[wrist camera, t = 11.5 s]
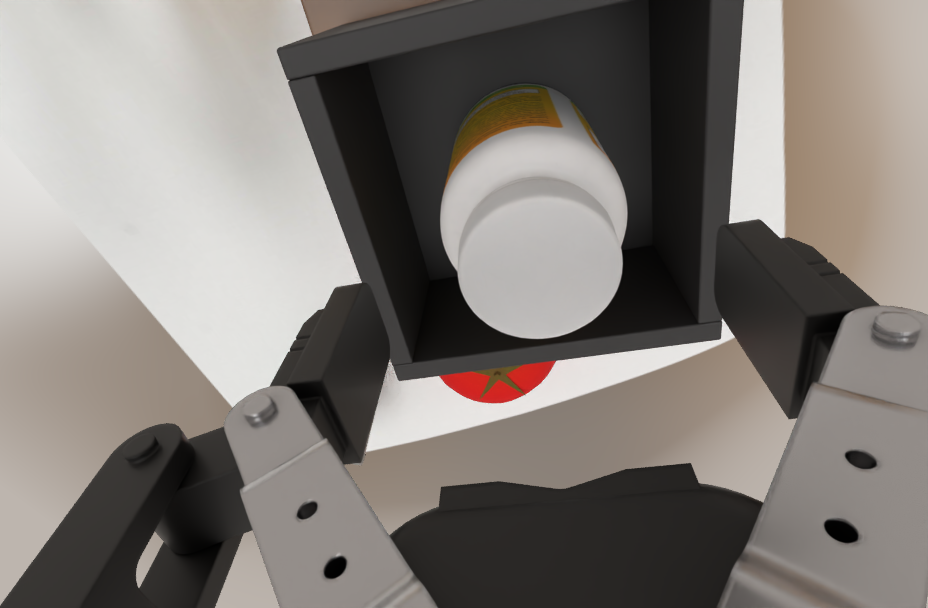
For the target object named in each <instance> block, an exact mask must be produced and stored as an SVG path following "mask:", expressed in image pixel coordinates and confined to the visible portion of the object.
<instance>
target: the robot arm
mask: <svg viewBox="0 0 928 608" xmlns="http://www.w3.org/2000/svg"><path fill="white" fill-rule="evenodd" d="M714 295H715V301H716V305H717V308H718V311H719V313H720V315H721V316H722V318H723V319H724V321H725V322H726V324H727V325H728V327H729V329H730V330H731V332H732V333H733V335H734V336H735V338H736V339H737V341H738V342H739V344H740V345H741V347H742V348H743V350H744V351H745V353H746V355H747V356H748V357H749V359H750V361H751V362H752V364H753V365H754V367H755V368H756V370H757V371H758V373H759V374H760V376H761V377H762V379H763V381H764V382H765V383H766V385H767V387H768V388H769V390H770V391H771V393H772V394H773V396H774V397H775V399H776V400H777V402H778V403H779V405H780V406H781V408H782V410H783V411H784V413H785V414H786V416H787V417H788V419H795V418H797V421H796V423H795V426H794V428H793V431H792V433H791V436H790V438H789V441H788V443H787V446H786V448H785V450H784V453H783V455H782V458H781V460H780V463H779V466H778V468H777V470H776V473H775V476H774V478H773V481H772V483H771V485H770V488H769V491H768V493H767V495H766V498H765V501H764V503H763V502H761V501H759V500H756V499H754V498H751V497H749V496H746V495H744V494H742V493H738V492H735V491H732V490H729V489H726V488H721V487H717V486H713V485H708V484H700V483H698V480H697V478H696V475H695V473H694V470H693V468H692V465H691V463H688V464H676V465H666V466H655V467H645V468H635V469H625V470H622V471H619V472H616V473H613V474H610V475H607V476H604V477H601V478H598V479H595V480H592V481H588V482H585V483H583V484H579V485H576V486H573V487H570V488H566V489H553V488H545V487H538V486H530V485H523V484H515V483H507V482H488V483H477V484H467V485H456V486H446V487H441V493H440V501H439V507H436V508H434V509H431V510H429V511H427V512H425V513H422V514H420V515H418V516H416V517H415V518H413V519H411V520H410V521H408V522H406V523H405V524H403V525H402V526H401V527H399V528H398V529H397V530H395V531H394V532H393V533H392V534H391V535H388V533H387V532H386V530H385V529H384V527H383V525H382V524H381V522H380V521H379V519H378V517H377V516H376V514H375V513H374V511H373V510H372V508H371V506H370V505H369V503H368V502H367V500H366V499H365V497H364V496H363V494H362V492H361V491H360V489H359V488H358V487H357V485H356V483H355V482H354V480H353V478H352V477H351V475H350V474H349V472H348V471H347V469H346V468H345V466H344V464H354V463H361V462H362V458H363V454H364V451H365V447H366V443H367V440H368V436H369V432H370V429H371V425H372V421H373V418H374V414H375V410H376V407H377V403H378V399H379V396H380V392H381V388H382V385H383V381H384V377H385V374H386V370H387V366H388V363H389V359H390V342H389V337H388V334H387V331H386V328H385V325H384V322H383V320H382V317H381V314H380V311H379V309H378V306H377V303H376V300H375V297H374V295H373V292H372V289H371V287H370V286H369V285H368V284H367V283H359V284H353V285H347V286H341V287H336V288H335V289H334V291H333V293H332V295H331V297H330V298H329V300H328V302H327V304H326V306H325V308H324V309H322V310H318V311H317V312H316V313H315V314H314V315H312V316H311V317H310V318H309V319H308V320H307V321H306V322H305V323H304V324H303V326H302V328H301V330H300V331H299V333H298V335H297V337H296V340H295V341H294V342H293V344H292V346H291V348H290V352H288V353H287V355H286V357H285V359H284V361H283V363H282V364H281V366H280V368H279V370H278V372H277V374H276V376H275V377H274V379H273V381H272V383H271V385H270V387H267V388H263V389H261V390H258V391H256V392H254V393H252V394H250V395H248V396H246V397H245V398H244V399H242V400H241V401H240V402H238V403H237V404H236V405H235V406H234V407H233V408H232V409H231V411H230V412H229V413H228V415H227V417H226V419H225V422H224V427H222V428H219V429H216V430H213V431H210V432H208V433H205V434H202V435H199V436H196V437H194V438H191V439H187V437H186V436H185V435H184V433H183V432H182V431H181V429H180V428H179V426H177V425H175V424H169V423H166V424H159V425H155V426H152V427H149V428H147V429H145V430H143V431H140V432H139V433H137V434H135V435H134V436H132V437H130V438H129V439H127V440H126V441H125V442H124V443H122V444H121V445H120V446H119V447H118V448H117V449H116V450H115V451H114V452H113V453H112V454H111V456H110V457H109V458H108V459H107V461H106V462H105V463H104V465H103V466H102V468H101V469H100V470H99V472H98V473H97V475H96V476H95V477H94V478H93V480H92V481H91V483H90V484H89V485H88V487H87V488H86V489H85V491H84V492H83V493H82V495H81V496H80V498H79V499H78V500H77V502H76V503H75V504H74V506H73V507H72V509H71V510H70V511H69V513H68V514H67V515H66V517H65V518H64V520H63V521H62V522H61V523H60V525H59V526H58V528H57V529H56V530H55V532H54V533H53V535H52V536H51V537H50V539H49V540H48V541H47V543H46V544H45V545H44V547H43V548H42V549H41V551H40V552H39V554H38V555H37V556H36V558H35V559H34V560H33V562H32V563H31V564H30V566H29V567H28V569H27V570H26V571H25V573H24V574H23V575H22V577H21V578H20V579H19V581H18V582H17V584H16V585H15V586H14V588H13V589H12V591H11V592H10V593H9V594H8V596H7V597H6V599H5V600H4V601H3V603H2V604H1V606H0V608H215V606H216V603H217V601H218V598H219V595H220V593H221V590H222V588H223V585H224V582H225V580H226V577H227V575H228V572H229V570H230V567H231V565H232V562H233V559H234V557H235V554H236V552H237V549H238V547H239V544H240V541H241V539H242V536H243V533H246V532H249V531H251V530H253V532H254V535H255V538H256V541H257V544H258V547H259V549H260V552H261V555H262V558H263V561H264V564H265V566H266V569H267V572H268V575H269V578H270V580H271V584H272V586H273V589H274V592H275V595H276V598H277V601H278V604H279V606H280V608H926V603H927V596H928V315H927V314H924V313H922V312H918V311H915V310H911V309H907V308H902V307H895V306H880V305H879V304H878V303H877V302H875V301H874V300H873V299H872V298H871V297H870V296H868V295H867V294H866V293H865V292H864V291H863V290H862V289H860V288H859V287H858V286H857V285H856V284H855V283H854V282H852V281H851V280H850V279H849V278H848V277H847V276H846V275H844V274H843V273H841V274H840V271H839V270H838V269H837V268H836V267H835V266H834V265H833V264H832V263H828V262H827V259H826V258H825V257H824V256H823V255H821V254H820V253H819V252H818V251H817V250H816V249H815V248H813V247H812V246H809V245H807V244H805V243H802V242H800V241H797V240H795V239H792V238H789V237H788V238H781V239H780V238H779V237H778V236H777V235H776V234H775V233H774V232H773V231H772V230H771V229H770V228H769V227H768V226H767V225H766V224H765V223H763V222H762V221H761V220H759V219H757V220H751V221H744V222H738V223H732V224H726V225H721V226H720V227H719V229H718V232H717V241H716V259H715V277H714ZM154 531H155V532H156V533H157V534H158V535H159V537H160V538H161V539H162V540H163V541H164V542H163V544H162V546H161V548H160V550H159V552H158V554H157V556H156V558H155V560H154V562H153V563H152V565H151V567H150V569H149V571H148V573H147V575H146V577H145V579H144V581H143V582H142V584H141V586H140V588H138V586H137V582H136V568H137V564H138V561H139V559H140V556H141V555H142V553H143V551H144V549H145V548H146V545H147V544H148V542H149V540H150V539H151V537H152V535H153V533H154Z"/></svg>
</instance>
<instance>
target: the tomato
mask: <svg viewBox="0 0 928 608" xmlns="http://www.w3.org/2000/svg"><path fill="white" fill-rule="evenodd" d="M555 362H556V361H550V362H542V363H534V364H527V365H519V366H511V367H503V368H496V369H488V370H480V371H473V372H465V373H457V374H449V375H442V376H440V378H441V379H442V380H443V381H444V383H445V384H446V385H447V386H449V387H450V388H452V389H453V390H454V391H456V392H457V393H459V394H461V395H462V396H464V397H466V398H469V399H471V400H474V401H478V402H483V403H504V402H508V401H512V400H514V399H517V398H519V397H521V396H523V395H525V394H527V393H528V392H530V391H531V390H532V389H534V388H535V387H536V386H538V385H539V384H540V383H541V382H542V381H543V380H544V379H545V378H546V376H547V375H548V374H549V372H550V370H551V369H552V367H553V365H554V363H555Z"/></svg>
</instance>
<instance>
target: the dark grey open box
mask: <svg viewBox="0 0 928 608" xmlns="http://www.w3.org/2000/svg"><path fill="white" fill-rule="evenodd" d="M743 6H744V0H440V1H436V2H432V3H428V4H424V5H420V6H416V7H412V8H408V9H404V10H400V11H396V12H392V13H388V14H383V15H379V16H375V17H371V18H367V19H363V20H359V21H355V22H351V23H347V24H343V25H340V26H338V27H335V28H332V29H329V30H326V31H324V32H321V33H318V34H316V35H313V36H310V37H307V38H305V39H302V40H299V41H296V42H294V43H291V44H288V45H286V46H283V47H280V48H278V49H277V53H278V56H279V59H280V61H281V64H282V67H283V69H284V72H285V75H286V77H287V79H288V80H290V81H289V82H288V84H289V86H290V89H291V92H292V95H293V97H294V100H295V103H296V105H297V108H298V111H299V113H300V116H301V119H302V122H303V124H304V127H305V130H306V132H307V135H308V138H309V141H310V143H311V146H312V149H313V151H314V154H315V157H316V159H317V162H318V165H319V168H320V170H321V173H322V176H323V178H324V181H325V184H326V187H327V189H328V192H329V195H330V197H331V200H332V203H333V205H334V208H335V211H336V214H337V216H338V219H339V222H340V224H341V227H342V230H343V233H344V235H345V238H346V241H347V243H348V246H349V249H350V252H351V254H352V257H353V260H354V262H355V265H356V268H357V270H358V273H359V276H360V279H361V281H362V283H367V284H368V285H369V286H370V287H371V289H372V292H373V295H374V297H375V300H376V303H377V306H378V309H379V311H380V314H381V317H382V320H383V322H384V325H385V328H386V331H387V334H388V337H389V342H390V360H391V363H392V365H393V367H394V370H395V373H396V375H397V378H398V380H399V381H403V380H411V379H419V378H426V377H434V376H442V375H449V374H457V373H465V372H473V371H480V370H488V369H496V368H503V367H511V366H519V365H527V364H534V363H542V362H550V361H557V360H565V359H573V358H581V357H588V356H596V355H604V354H611V353H619V352H627V351H635V350H642V349H650V348H658V347H665V346H673V345H681V344H689V343H696V342H704V341H712V340H719V339H721V330H722V321H721V320H722V316H721V315H720V313H719V311H718V308H717V305H716V301H715V295H714V277H715V259H716V241H717V232H718V229H719V227H720V226H721V225H726V224H729V212H730V197H731V183H732V168H733V153H734V139H735V124H736V109H737V95H738V80H739V65H740V51H741V36H742V21H743ZM515 84H538V85H542V86H546V87H549V88H552V89H554V90H556V91H558V92H560V93H562V94H563V95H564V96H566V97H567V98H568V99H570V100H571V101H572V102H573V103H574V104H575V105H576V106H577V107H578V109H579V110H580V111H581V112H582V114H583V115H584V117H585V118H586V120H587V122H588V123H589V125H590V127H591V129H592V130H593V132H594V134H595V135H596V137H597V139H598V141H599V143H600V144H601V146H602V148H603V149H604V151H605V153H606V154H607V156H608V157H609V159H610V161H611V162H612V164H613V166H614V167H615V169H616V171H617V174H618V176H619V178H620V181H621V183H622V186H623V189H624V192H625V196H626V201H627V226H626V231H625V235H624V239H623V242H622V245H621V250H622V258H623V267H622V275H621V280H620V283H619V286H618V289H617V291H616V293H615V295H614V297H613V298H612V300H611V302H610V303H609V304H608V306H607V307H606V308H605V309H604V310H603V311H602V312H601V314H600V315H598V316H597V317H596V318H595V319H594V320H592V321H591V322H590V323H588V324H586V325H585V326H583V327H581V328H579V329H577V330H575V331H573V332H571V333H568V334H565V335H561V336H558V337H552V338H544V339H530V338H520V337H516V336H512V335H508V334H505V333H503V332H500V331H498V330H496V329H494V328H492V327H491V326H489V325H487V324H486V323H485V322H484V321H483V320H481V319H480V318H479V317H478V316H477V315H476V314H475V313H474V312H473V311H472V309H471V308H470V307H469V305H468V304H467V302H466V300H465V298H464V296H463V294H462V292H461V289H460V285H459V281H458V272H457V270H456V269H455V268H454V266H453V265H452V263H451V261H450V259H449V257H448V255H447V253H446V250H445V248H444V245H443V241H442V236H441V228H440V214H441V203H442V197H443V193H444V188H445V184H446V180H447V175H448V171H449V166H450V162H451V157H452V152H453V147H454V143H455V139H456V136H457V133H458V131H459V128H460V126H461V124H462V122H463V120H464V119H465V117H466V116H467V114H468V113H469V111H470V110H471V109H472V108H473V107H474V106H475V105H476V104H477V103H478V102H479V101H480V100H481V99H482V98H484V97H485V96H486V95H488V94H490V93H491V92H493V91H495V90H497V89H500V88H503V87H506V86H510V85H515Z"/></svg>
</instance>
